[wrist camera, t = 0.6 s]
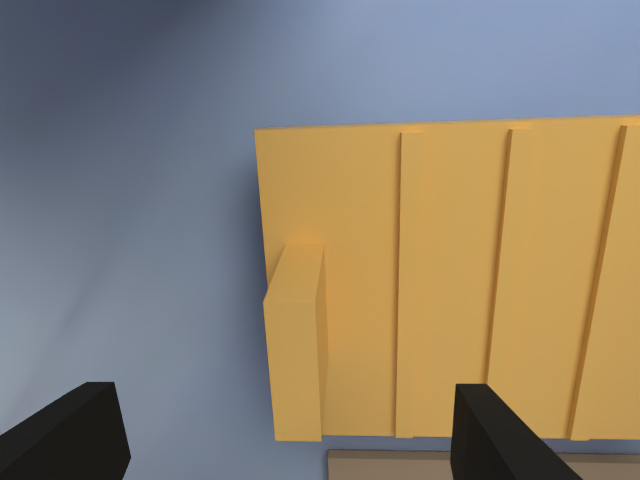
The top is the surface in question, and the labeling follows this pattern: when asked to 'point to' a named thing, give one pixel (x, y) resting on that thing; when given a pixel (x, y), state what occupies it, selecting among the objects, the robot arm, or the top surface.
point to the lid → (452, 274)
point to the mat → (435, 470)
